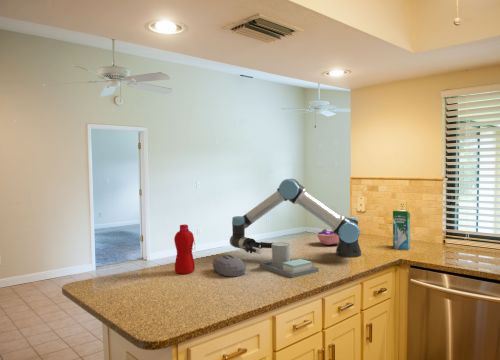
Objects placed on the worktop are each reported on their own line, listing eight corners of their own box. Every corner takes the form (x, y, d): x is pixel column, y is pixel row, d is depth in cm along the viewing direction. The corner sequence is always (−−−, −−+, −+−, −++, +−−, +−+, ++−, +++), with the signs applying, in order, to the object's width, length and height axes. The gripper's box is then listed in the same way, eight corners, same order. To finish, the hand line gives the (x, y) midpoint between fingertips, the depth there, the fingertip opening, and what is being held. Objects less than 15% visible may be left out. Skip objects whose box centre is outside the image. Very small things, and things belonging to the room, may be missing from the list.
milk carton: (410, 247, 251) (410, 209, 250) (407, 249, 243) (407, 211, 243) (395, 246, 256) (395, 209, 255) (393, 248, 248) (392, 210, 247)
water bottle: (191, 275, 192) (190, 226, 192) (172, 273, 196) (171, 225, 195) (199, 270, 201) (198, 223, 200) (181, 269, 205) (180, 223, 204)
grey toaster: (209, 270, 202) (224, 279, 184) (208, 254, 202) (224, 262, 184) (234, 266, 209) (251, 275, 191) (234, 251, 209) (251, 258, 191)
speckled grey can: (278, 270, 195) (277, 246, 195) (268, 266, 204) (268, 243, 203) (293, 267, 200) (293, 244, 199) (283, 264, 208) (283, 241, 208)
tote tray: (259, 269, 203) (259, 263, 202) (285, 263, 213) (284, 258, 213) (291, 279, 181) (291, 273, 181) (318, 273, 192) (318, 267, 192)
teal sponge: (282, 272, 191) (282, 262, 191) (300, 268, 198) (300, 258, 198) (293, 276, 184) (293, 265, 184) (312, 271, 192) (311, 261, 191)
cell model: (347, 247, 256) (347, 230, 255) (318, 247, 256) (317, 230, 255) (342, 242, 272) (341, 226, 272) (314, 242, 273) (313, 227, 272)
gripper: (264, 247, 234) (287, 253, 217) (230, 253, 220) (251, 259, 202) (264, 235, 234) (286, 240, 217) (230, 240, 219) (251, 245, 202)
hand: (269, 249), depth 209 cm, fingers open, 13 cm apart
